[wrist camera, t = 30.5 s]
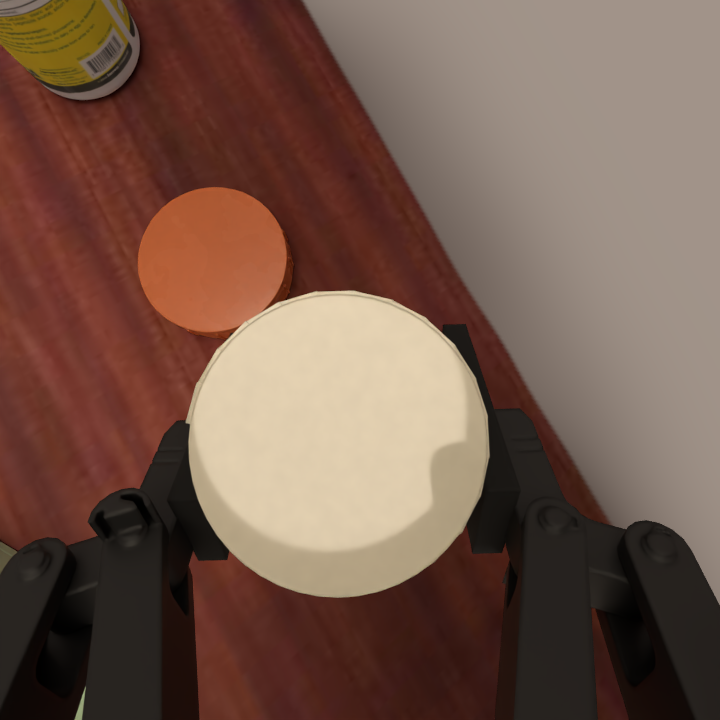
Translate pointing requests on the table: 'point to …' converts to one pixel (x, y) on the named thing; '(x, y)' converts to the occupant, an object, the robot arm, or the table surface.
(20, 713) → the robot arm
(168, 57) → the table surface
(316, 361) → the jar
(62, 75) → the pill bottle
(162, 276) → the lid
